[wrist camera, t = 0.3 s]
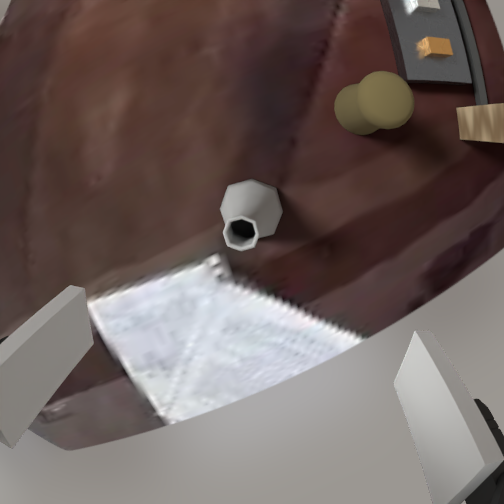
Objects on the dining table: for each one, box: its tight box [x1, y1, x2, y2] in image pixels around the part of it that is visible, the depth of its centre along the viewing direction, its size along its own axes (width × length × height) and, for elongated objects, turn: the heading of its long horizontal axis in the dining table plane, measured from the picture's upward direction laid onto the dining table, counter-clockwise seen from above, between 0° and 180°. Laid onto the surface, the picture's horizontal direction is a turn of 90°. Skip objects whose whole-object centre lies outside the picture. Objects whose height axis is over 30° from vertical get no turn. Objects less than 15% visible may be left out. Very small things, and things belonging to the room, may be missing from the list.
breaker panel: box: [380, 0, 472, 85], centre depth 26 cm, size 14×9×4 cm, turn 9°
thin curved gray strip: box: [451, 0, 488, 106], centre depth 26 cm, size 20×1×1 cm, turn 9°
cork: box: [334, 71, 414, 135], centre depth 27 cm, size 6×6×11 cm
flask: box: [220, 179, 283, 251], centre depth 33 cm, size 7×7×10 cm
